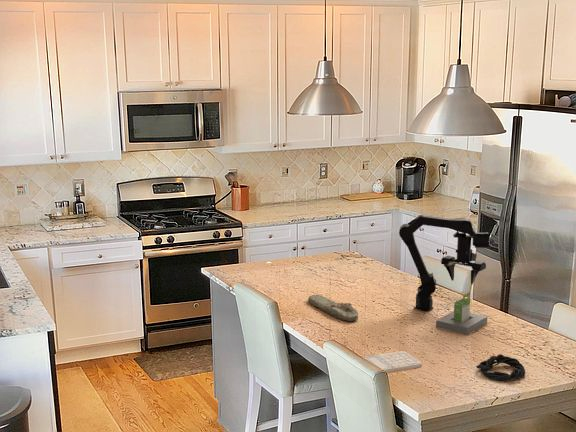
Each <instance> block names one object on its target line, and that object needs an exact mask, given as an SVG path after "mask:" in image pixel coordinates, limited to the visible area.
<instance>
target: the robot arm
mask: <svg viewBox="0 0 576 432" xmlns="http://www.w3.org/2000/svg"><path fill="white" fill-rule="evenodd" d="M423 226H428V227H429V226H430V227H437V228H444V229H451V230H453V231H456V232H455V233H453V235H452V236H453V238H457V244H456V247H457V248H456V249H455V253H456V257H455V256H451V255H446V256H444V257H442V258H441V260H440V264H441V265H443V267H445V269H446V271H447V272H448V274H449V277H450V279H451V281H453V282H454V281H455V280H454V279H455V267H456V265H460V266H465V267H471V270H470V284H471V285H474V283H475V280H476V277H477V276H478V274H479V272H481V271H484V270H485V269H487V264H486V262H485V261H481V260H479V261H478V260H477V253H473V249H472V246H473V247H474V248H475V249H486V250H487V249H489V248H490V238H489V237H490V236H489V235H490V234H489V232H476V229H474V228H473V223H472V221H471V219H469V218H468V217H455V218H445V217H439V216H433V215H432V216H431V215H424V214H419V215H418V216H417V217H415V218H414V219H412V220H410V221H409V222H408V223H403V224H402V225H401V226H400V227H399V231H398V234H399V237H400V238H401V240H402V241H403V243H404V244H405V245H406V247H407V249H408V250H409V253H410V256H411V258H412V260H413V263H414V266H415V268H416V270H417V272H418V275H419V279H420V284H421V285H419V286H418V287H417V293H416V295H415V306H414V307H413V309H414V310H416V311H417V310H418V311H422V312H428V311H431V310H433V309H434V305H433V302H434V300H433V294H434V293H435V292H436V288H437V287H436V286H437V279H436V278H435V276H434V272H432V273H431V272H429V271H428V269H427V266H426V264H425V262H424V260H423V257H422V255H421V253H420V250H419V248H418V245H417V243H416V238H415V234H414V233H416V231H418V230H419V229H420V228H421V227H423ZM476 260H477V261H476Z"/></svg>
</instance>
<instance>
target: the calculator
mask: <svg viewBox="0 0 576 432" xmlns="http://www.w3.org/2000/svg"><path fill="white" fill-rule="evenodd" d="M362 357H363V358H364V359H366V360H368V361H370V362H371V363H373V364H374V365H376V366H378V367H379V368H381V369H383V370H385V371H387V372H386V373H390V372H397V371H398V372H399V371H403V370H404V371H405V370H409V369H415V368H420V367H422V366H423V364H422V362H421V361H420V360H418V359H417V358H416V357H414V356H413V355H411V354H409V353H408V352H406V351H404V350H401V351H394V352H388V353H382V354H375V355H368V356H362Z"/></svg>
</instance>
